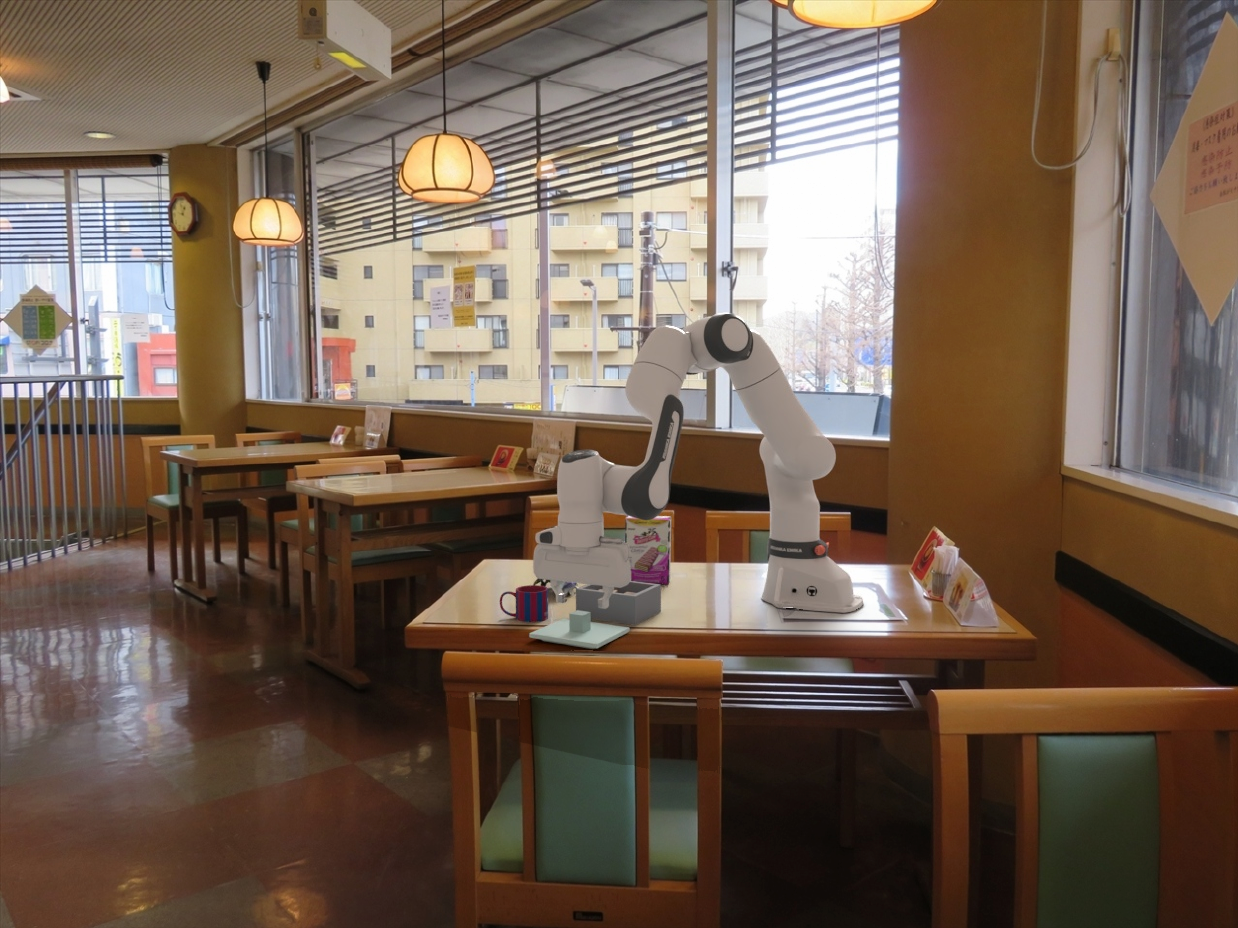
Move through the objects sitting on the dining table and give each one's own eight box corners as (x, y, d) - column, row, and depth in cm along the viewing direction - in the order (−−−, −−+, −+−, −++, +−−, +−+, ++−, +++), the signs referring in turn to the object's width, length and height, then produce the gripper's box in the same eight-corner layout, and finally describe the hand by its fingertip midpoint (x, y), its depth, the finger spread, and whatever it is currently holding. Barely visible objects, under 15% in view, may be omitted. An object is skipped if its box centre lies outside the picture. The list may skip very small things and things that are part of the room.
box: (660, 614, 203) (660, 584, 202) (635, 627, 192) (635, 596, 192) (603, 606, 210) (603, 577, 209) (575, 619, 199) (575, 588, 198)
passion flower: (570, 620, 219) (570, 585, 211) (525, 609, 221) (524, 574, 213) (584, 584, 227) (585, 550, 219) (541, 574, 229) (540, 540, 221)
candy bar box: (624, 584, 231) (624, 517, 230) (626, 579, 236) (626, 514, 235) (670, 585, 230) (670, 518, 229) (670, 580, 235) (671, 515, 234)
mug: (546, 625, 195) (546, 592, 194) (498, 624, 195) (497, 592, 194) (549, 616, 201) (549, 585, 201) (502, 616, 201) (502, 584, 201)
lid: (629, 637, 187) (629, 610, 186) (597, 654, 176) (597, 625, 175) (564, 627, 194) (564, 601, 194) (529, 643, 183) (529, 615, 182)
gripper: (636, 536, 181) (637, 607, 182) (545, 528, 190) (546, 596, 192) (621, 541, 175) (622, 614, 176) (528, 533, 185) (529, 603, 186)
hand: (582, 605), depth 184 cm, fingers open, 8 cm apart
